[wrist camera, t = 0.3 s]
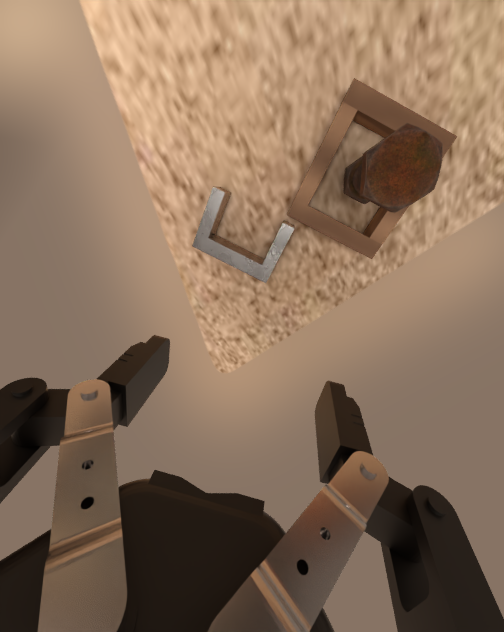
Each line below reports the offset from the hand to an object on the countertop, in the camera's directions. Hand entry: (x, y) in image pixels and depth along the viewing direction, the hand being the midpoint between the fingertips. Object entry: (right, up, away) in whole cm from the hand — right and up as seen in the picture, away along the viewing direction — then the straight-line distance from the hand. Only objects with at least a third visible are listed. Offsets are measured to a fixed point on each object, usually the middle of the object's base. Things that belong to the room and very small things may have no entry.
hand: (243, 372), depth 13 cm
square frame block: (+14, +20, +19) cm, 31 cm away
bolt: (+14, +20, +19) cm, 31 cm away
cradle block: (0, +14, +24) cm, 28 cm away
